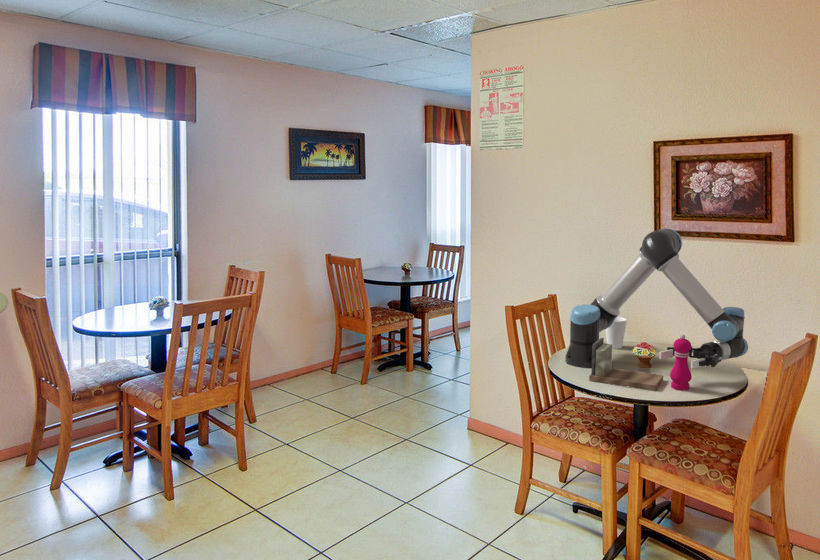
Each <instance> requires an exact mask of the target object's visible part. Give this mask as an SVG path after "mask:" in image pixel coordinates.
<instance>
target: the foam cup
mask: <svg viewBox="0 0 820 560" xmlns="http://www.w3.org/2000/svg"><path fill="white" fill-rule="evenodd" d="M627 325H628V320H627V318H625V317H620V316H617V317H616V318H615V320H614V322H613V324H612V325H611V326H610V327H609V328H607V329H605V337H606V338H605V339H606V344H612V350H621V349H622V348H623V345H624V339H625V333H626V328H627Z"/></svg>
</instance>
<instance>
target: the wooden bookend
mask: <svg viewBox="0 0 820 560" xmlns="http://www.w3.org/2000/svg"><path fill="white" fill-rule="evenodd" d="M604 340H605V338H604V337H599V340H598V341H596V342H595V343H594V344H593V345H592V367H591V371H590V374H589V377H588V378H589V379H588V381H590V382H594V383H595V382H596V383H600V384H608V385H613V384H615V385H614V386H620V385H622V386H621V387H626V386H629V387H628V388H633V387H634V388H633V389H639V388H640V389H639V390H646V391H647V390H648V391H652V392H654V391H655V392H656V391H657V389H658V388H659V387H660V386H661V384H662V382H664V375H663V374H657V373H651V372H650V373H649V372H644V371H638V370H637V371H635V370H629V369H621V368H614V367H612V366H613V365H612V363H613V359H612V357H613V349H612V344H607V342H606V343H604V342H605V341H604Z"/></svg>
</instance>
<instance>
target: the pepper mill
mask: <svg viewBox="0 0 820 560" xmlns="http://www.w3.org/2000/svg"><path fill="white" fill-rule="evenodd" d="M672 345H673V346H672V347H674V349H675V350H676V351H675V354H674V355H675V360H674V361H675V362H674V364H673V366H672V368H671V370H670V374H669V378H670V379H671V382H670V388H671V389H674V390H676V391H689V390H690V386H691V385H690V383H689V382H691V380H692V372H691V368H690V367H689V364H688V363H689V362H688V360H689V358H690V357H689V351H690V349H691V346H692V343H691V341H690V340H688V339H686V335H685V334H681V335H680V336H679V338H676V339H675V341H674V342H673V344H672Z"/></svg>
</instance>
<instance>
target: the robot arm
mask: <svg viewBox="0 0 820 560" xmlns="http://www.w3.org/2000/svg"><path fill="white" fill-rule="evenodd" d="M682 247H683V240H682V237H681V235H680V234H679V233H678V232H677V231H676V230H674V229H671V228H660V229H658V230H654V231H650V232H649V233H647V234H646V235H645V236H644V238H643V240H642V243H641V247H640V248H639V249H638V252H639V255H638V256H637V257H636V258H635V259H634V260H633V262H632V263H631V264H630V265H628V267H627V268H626V270H624V271H623V272H622V273H621V275H620V276H619V277H618V278H617V279H616V280H615V281H614V283H613V284H612V285H611V286H610V287H609V288H608V290H607V291H606V292H605V293H604V294H603V295H597V297H595V298H594V299H593V301H592V302H591V303H590V304H580V305H576V306H574V307H572V309H571V311H570V315H569V316H570V317H569V319H570V324H569V326H570V327H569V329H570V330H569V333H570V334H569V335H570V337H569V345H568V348H567V351H566V354H565V361H564V362H566V364H568V365H571V366H573V365H574V367H580V368H581V367H582V368H592V345H593V344H594V343H595V342H596V341H598V340H599V339H600V333H601V332H602V331H604V330H605V331H606V329H607V328H609V327H610V326H611V325H612V324H613V322H614V320H615V318H616V317H619V315H620V309H621V308H622V307H623V305H624V304H625V303H626V302H627V301H628V300H629V299H630V297H631V296H633V294H634V293H635V292H637V290H638V289H639V288H640V287H641V286H642V285H643V284H644V282H646V280H648V278H649V277H650V276H651V275H652V274H653V273H654V272H655V271H656V270H657V272H662V273H663V274H664V276H665V277H666V278H667V279H668V280H669V281H670V283H671V284H672V285H673V286H674V287H675V288H676V290H677V291H678V292H679V293H680V294H681V295H682V296H683V298H684V299H685V300H686V302H688V303H689V305H691V308H693V309H694V310H695V311H696V313H698V315H699V316H700V317H701V319H702V320H703V321H704V322H705V323H706V325H708V327H709V328H710V330H711V333H712V335H713V337H714V339H716V340H713V341H709V342H705V343H702V344H701V346H700V347H696V348H695V347H694V348H693V346H692V345H691V349H690V351H689V357H688V358H690V359H693V360H690V369H697V368H702V367H705V366H706V367H711V368H715V367H716V366H717V365H718V364H719V363H720V362H722V361H725V360H729V359H735V358H739V357H742V356H744V355H745V354H747V352H748V350H749V344H748V342H747V340H746V339H745V338H744V326H745V319H746V318H745V310H744V308H742V307H735V306H726V307H723V308H722V306H721V305H720V304H719V303H718V302H717V300H716V299H715V298H713V296H712V294H710V293H709V292H708V290H706V288H705V287H704V286H703V284H702V283H701V282H700V281H699V280H698V279H697V278H696V277H695V275H694V274H693V273H692V272H691V271H690V270H689V269H688V267H687V266H686V265H685V264H684V263H683V262H682V261H681V260H680V254H679V253H680V251H681V249H682ZM675 351H676V350H675V349H674V347H673V346H669V347H667V348H666V350H661V351H659V353H658V354H659V356H658V359H659V360H664V359H668V358H674V356H675V355H674V354H675Z"/></svg>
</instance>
